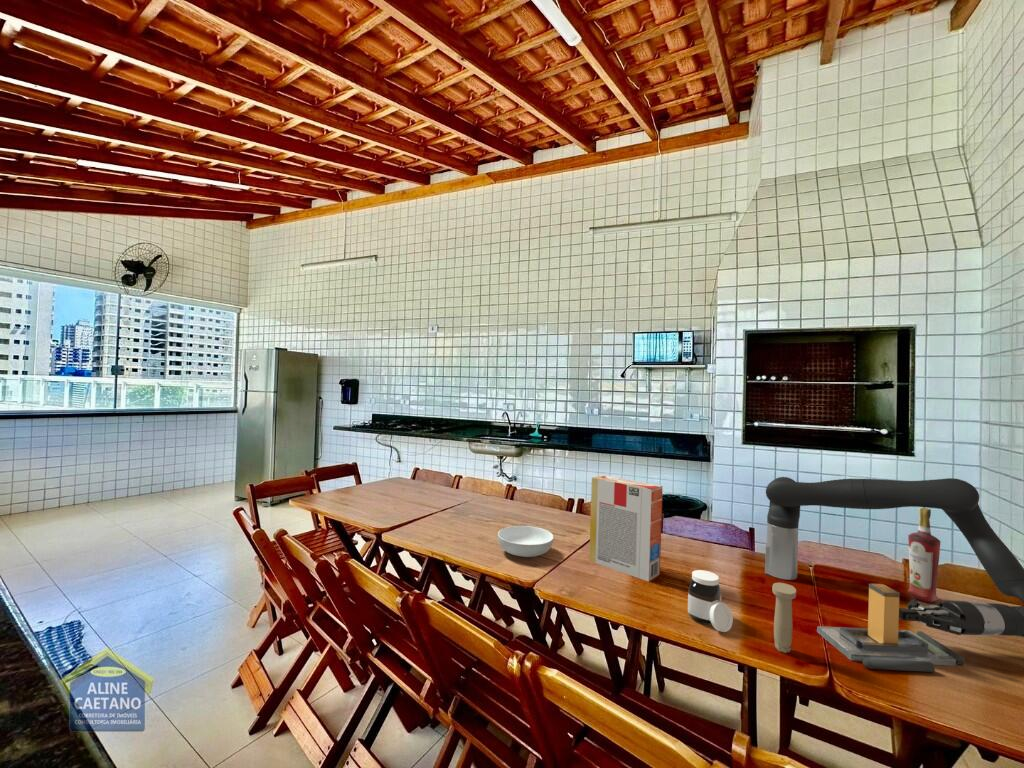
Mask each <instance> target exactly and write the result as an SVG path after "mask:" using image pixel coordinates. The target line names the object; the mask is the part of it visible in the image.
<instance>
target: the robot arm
mask: <svg viewBox="0 0 1024 768" xmlns="http://www.w3.org/2000/svg"><path fill="white" fill-rule="evenodd" d="M765 496H766V498H767V499H768V500H769V507H768V511H767V515H766V516H767V518H766V519H767V520H766V545H765V553H764V554H765V557H764V559H765V560H764V562H765V563H764V574H766V575H769V576H771V577H774V578H777V579H780V580H788V581H793V580H797V578H798V557H799V556H798V555H799V554H798V553H799V552H798V551H799V522H800V517H801V507H802V506H804V507H806V506H807V507H808V506H817V507H818V506H821V507H829V508H840V509H853V510H889V509H897V508H898V509H899V508H910V507H911V508H914V507H915V508H927V509H938V510H941V511H943V512H944V513H945V514H946V515H947V517H949V518H950V520H951V521H952V522H953V523H954V524H955V526H956V527H957V529H959V531H960V532H961V534H962V535H963V536H964V538H965V539H966V540H967V542H968V544H969V545H970V547H971V549H972V550H973V552H974V554H975V555H976V557H977V559H978V560H979V562H980V564H981V566H982V567H983V568H984V570H985V572H986V573H987V575H988V576H989V578H990V579H991V581H992V582H993V583H994V585H995V587H996V588H997V590H998V591H999V592H1000V593H1001V594H1003V595H1005V596H1009V597H1014V598H1017V599H1019V600H1020V601H1021V602H1022V603H1024V566H1023V565H1022V564H1021V562H1020V561H1019V560H1018V558H1017V557H1016V556H1015V555H1014V554H1013V552H1012V551H1011V550H1010V549H1009V548H1008V546H1007V545H1006V543H1004V541H1002V539H1001V538H1000V537H999V535H998V534H997V533H996V532H995V530H993V528H992V527H991V525H990V523H989V522H988V521H987V519H986V518H985V517H986V516H985V515H984V513H983V511H982V509H981V507H980V505H979V503H980V502H979V501H980V494H979V491H978V490H977V489H976V487H975V486H974V485H973V484H971V483H969V482H967V481H966V480H963V479H959V478H953V477H950V478H949V477H947V478H940V479H939V478H937V479H924V480H896V479H878V478H841V479H830V480H826V481H824V480H823V481H817V482H804V481H803V482H802V481H796V480H794V479H793V478H791V477H789V476H788V477H787V476H781V477H780V476H779V477H777V478H775V479H773V480H771V481H770V482H769V483H768V485H767V486H766V488H765ZM906 607H907V608H899V620H901V621H904V622H905V621H906V622H917V623H918V624H924V625H925V626H926V627H928V628H932V629H934V630H939V631H942V632H945V633H949V634H954V635H955V636H961V635H962V636H963V635H965V636H981V637H983V636H984V637H989V636H990V637H991V636H1008V637H1012V636H1014V637H1015V636H1016V637H1020V638H1024V605H1017V606H1011V605H1007V604H1002V603H987V602H986V603H985V602H980V601H971V600H951V599H949V600H948V599H947V600H943V601H941V602H940V603H939V604H938V605H936V604H926V605H923V604H921V603H920V600H917V599H915V598H913V599H911V600H910V601H909V602H908V604H907V606H906Z"/></svg>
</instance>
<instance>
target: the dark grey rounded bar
mask: <svg viewBox="0 0 1024 768" xmlns="http://www.w3.org/2000/svg"><path fill="white" fill-rule="evenodd" d="M915 634H917V635H918V636H920V637H922V638H923V639H925V640H926V641H928V642H929V643H931V644H933V645H934V646H936V647H937V648H939V649H940V650H942V651H944V652H945V653H947V654H948V655H950V656H951V657H953V658H955V659H956V665H957V664H958V665H963V664H964V663H965V659H964V657H963V656H962V655H960V654H959V653H957V652H956V651H953V650H952V649H950V648H949V647H948V646H946V645H944V644H942V643H941V642H939V641H937V640H936V639H935V638H933V637H931V636H930V635H928V634H927V633H925V632H923V631H921V630H920V631H917V632H916V633H915Z"/></svg>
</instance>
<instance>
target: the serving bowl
mask: <svg viewBox="0 0 1024 768" xmlns="http://www.w3.org/2000/svg"><path fill="white" fill-rule="evenodd" d="M554 538H555V537H554V535H553V533H552V532H550V530H547V529H545V528H541V527H538V526H531V525H513V526H507V527H505V528H504V527H503V528H502V529H500V530H499V531H498V532H497V539H498V544H500V547H501V548H502V549H503V550H504V551H505V552H506V553H508V554H510V555H513V556H517V557H522V558H533V557H539V556H542V555H544V554H546V553H548V551H549V550H550V549H551V548H552V546H553V543H554Z"/></svg>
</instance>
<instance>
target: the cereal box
mask: <svg viewBox="0 0 1024 768" xmlns="http://www.w3.org/2000/svg"><path fill="white" fill-rule="evenodd" d="M590 491H591V492H590V494H591V495H590V524H589V555H588V556H589V557H588V558H589V559H588V560H589V561H590V562H592V563H594V564H598V565H601V566H603V567H606V568H609V569H611V570H614V571H618V572H620V573H623V574H626V575H628V576H632V577H633V578H634V577H635V578H637V579H640V580H642V581H646V582H649V583H650V582H651V581H653V580H654V579H656V578H657V577H659V576H660V575H661V552H662V551H661V550H662V549H661V548H662V547H661V546H662V522H663V521H662V519H663V518H662V515H663V514H662V513H663V485H659V484H655V483H650V482H649V483H648V482H645V481H639V480H633V479H627V478H622V477H617V476H613V475H607V474H601V475H597V476H592V477H591V490H590Z"/></svg>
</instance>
